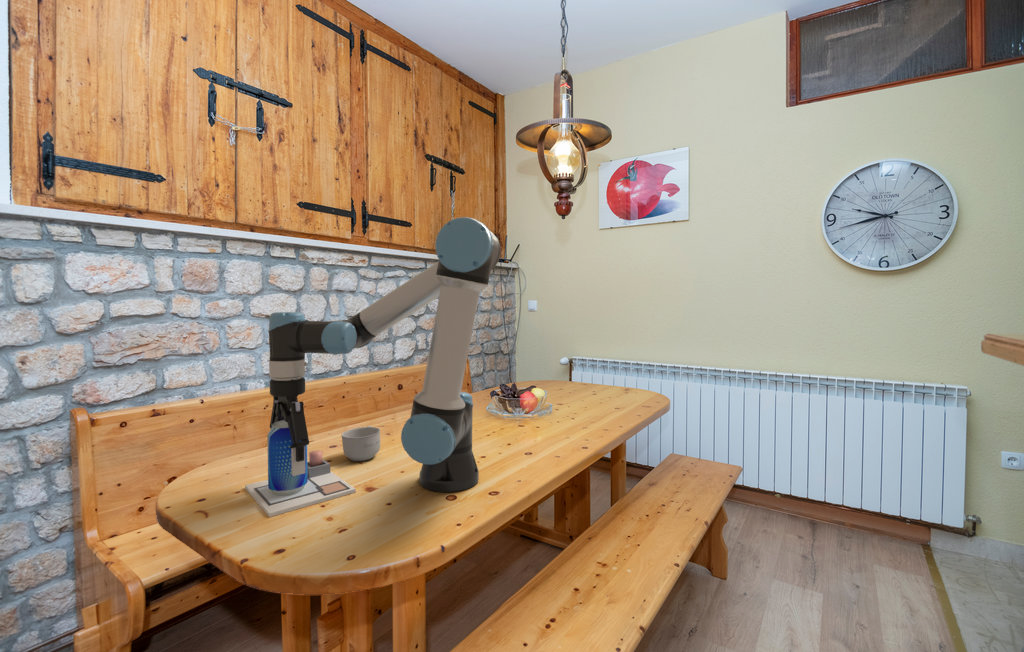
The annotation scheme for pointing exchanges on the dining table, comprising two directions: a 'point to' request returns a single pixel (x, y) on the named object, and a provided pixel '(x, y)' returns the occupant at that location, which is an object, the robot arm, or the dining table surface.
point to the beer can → (283, 462)
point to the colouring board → (315, 491)
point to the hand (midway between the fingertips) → (288, 466)
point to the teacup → (361, 443)
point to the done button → (315, 458)
